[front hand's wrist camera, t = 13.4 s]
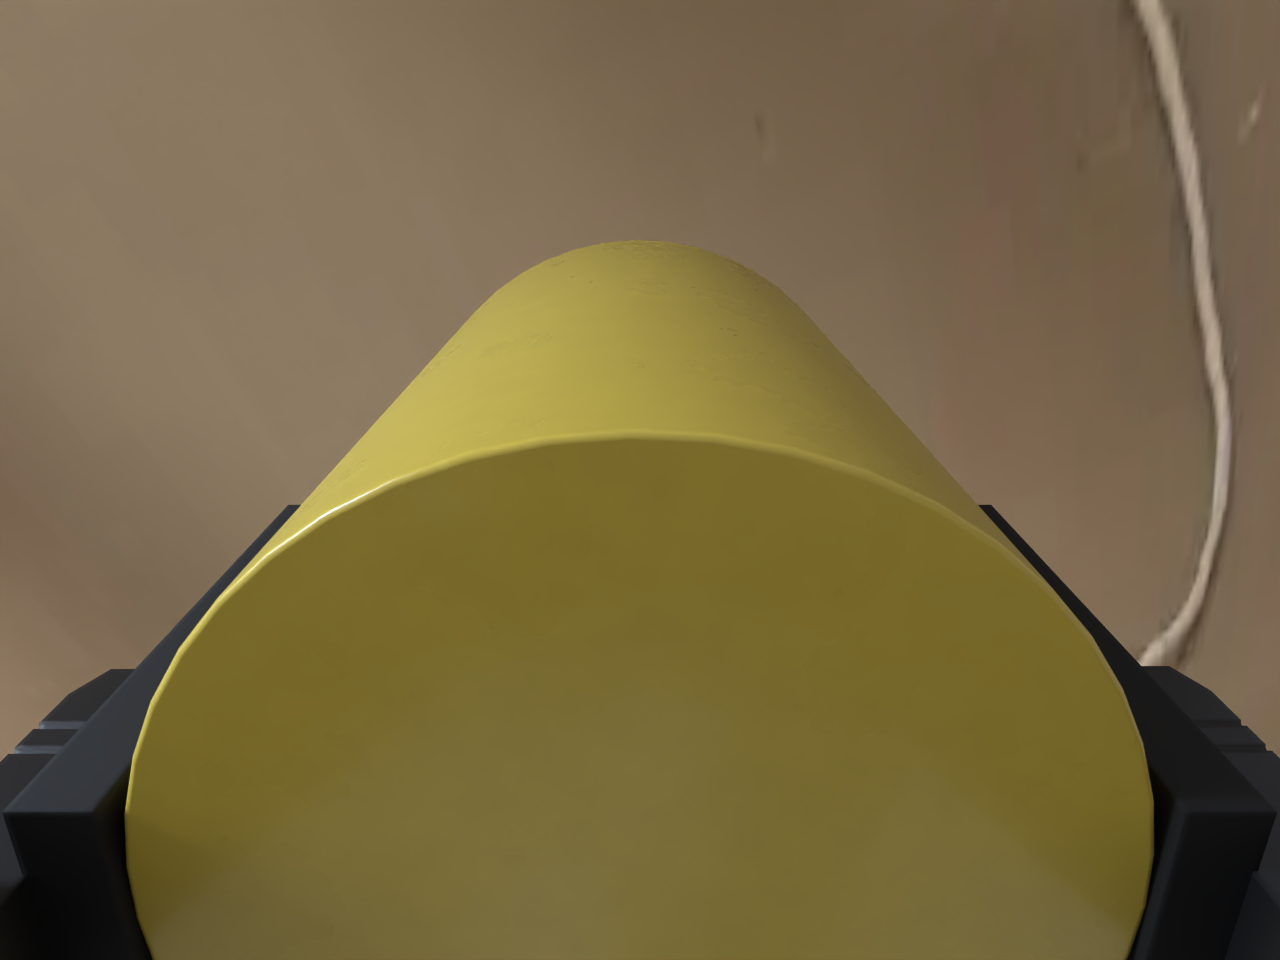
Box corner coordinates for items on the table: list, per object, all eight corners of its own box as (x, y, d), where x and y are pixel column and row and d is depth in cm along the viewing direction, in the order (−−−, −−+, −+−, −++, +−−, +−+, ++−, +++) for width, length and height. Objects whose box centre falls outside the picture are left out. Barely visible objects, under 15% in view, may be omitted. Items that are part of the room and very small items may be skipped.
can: (897, 268, 17) (1328, 501, 7) (811, 664, 21) (1003, 1259, 10) (431, 213, 17) (61, 362, 6) (418, 625, 20) (163, 1198, 9)
